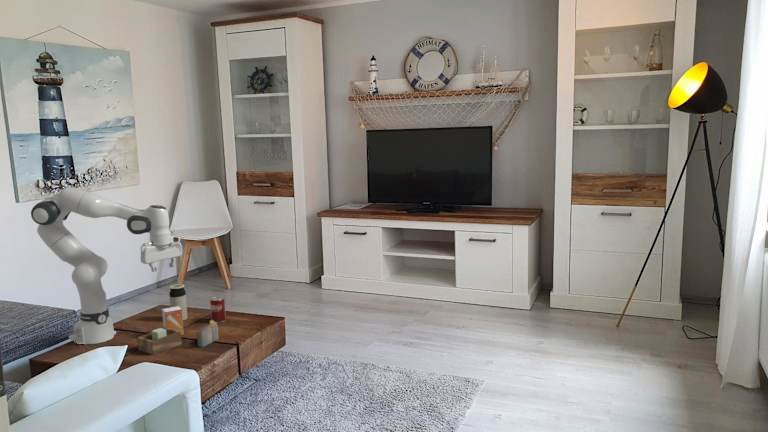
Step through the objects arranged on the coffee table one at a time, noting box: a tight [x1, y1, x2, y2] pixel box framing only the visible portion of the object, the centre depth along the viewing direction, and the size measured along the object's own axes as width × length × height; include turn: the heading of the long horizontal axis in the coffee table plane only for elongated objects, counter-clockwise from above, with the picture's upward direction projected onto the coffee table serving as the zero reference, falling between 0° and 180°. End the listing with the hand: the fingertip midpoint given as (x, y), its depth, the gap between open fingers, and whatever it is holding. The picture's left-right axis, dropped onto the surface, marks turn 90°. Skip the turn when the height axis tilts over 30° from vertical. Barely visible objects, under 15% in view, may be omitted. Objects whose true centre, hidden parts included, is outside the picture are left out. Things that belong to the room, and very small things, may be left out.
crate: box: [136, 328, 183, 356], centre depth 268 cm, size 11×15×6 cm
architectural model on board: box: [196, 319, 220, 348], centre depth 272 cm, size 11×3×10 cm, turn 157°
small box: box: [161, 306, 185, 336], centre depth 283 cm, size 8×6×13 cm
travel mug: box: [168, 283, 188, 322], centre depth 305 cm, size 8×8×18 cm
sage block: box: [151, 327, 167, 341], centre depth 268 cm, size 4×4×7 cm
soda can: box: [209, 296, 227, 324], centre depth 302 cm, size 7×7×12 cm
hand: (163, 269), depth 273 cm, fingers open, 8 cm apart
